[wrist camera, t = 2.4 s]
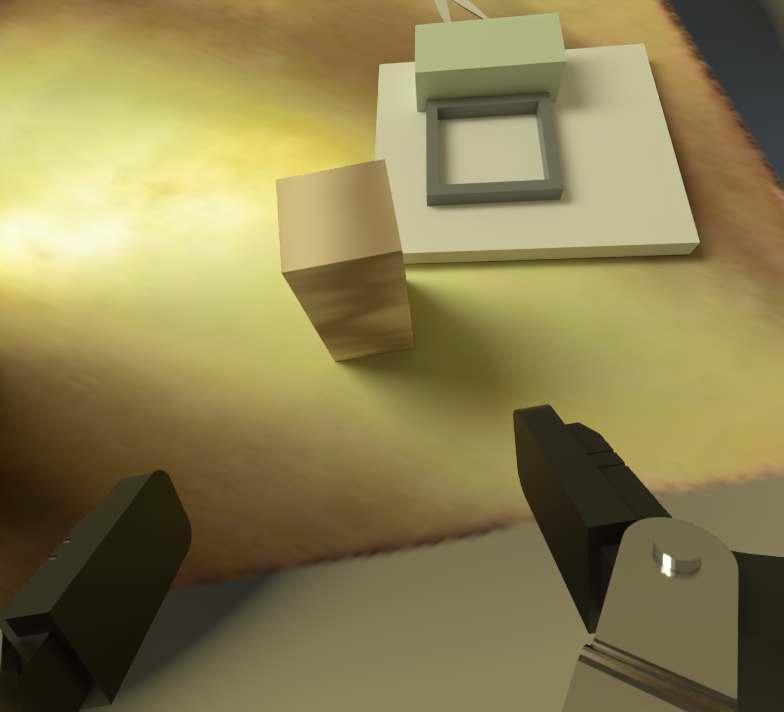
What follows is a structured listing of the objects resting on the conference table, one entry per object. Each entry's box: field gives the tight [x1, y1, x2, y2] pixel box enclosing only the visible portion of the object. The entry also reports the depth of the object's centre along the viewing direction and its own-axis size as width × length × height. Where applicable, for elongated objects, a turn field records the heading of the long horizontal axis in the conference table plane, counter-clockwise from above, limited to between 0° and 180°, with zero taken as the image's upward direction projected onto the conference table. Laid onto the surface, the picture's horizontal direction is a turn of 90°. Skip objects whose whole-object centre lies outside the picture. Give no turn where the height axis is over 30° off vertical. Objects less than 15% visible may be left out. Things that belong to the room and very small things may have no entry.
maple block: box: [276, 159, 415, 361], centre depth 24 cm, size 5×5×10 cm
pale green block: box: [415, 13, 567, 112], centre depth 32 cm, size 10×5×3 cm, turn 88°
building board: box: [375, 44, 700, 264], centre depth 31 cm, size 20×18×2 cm
